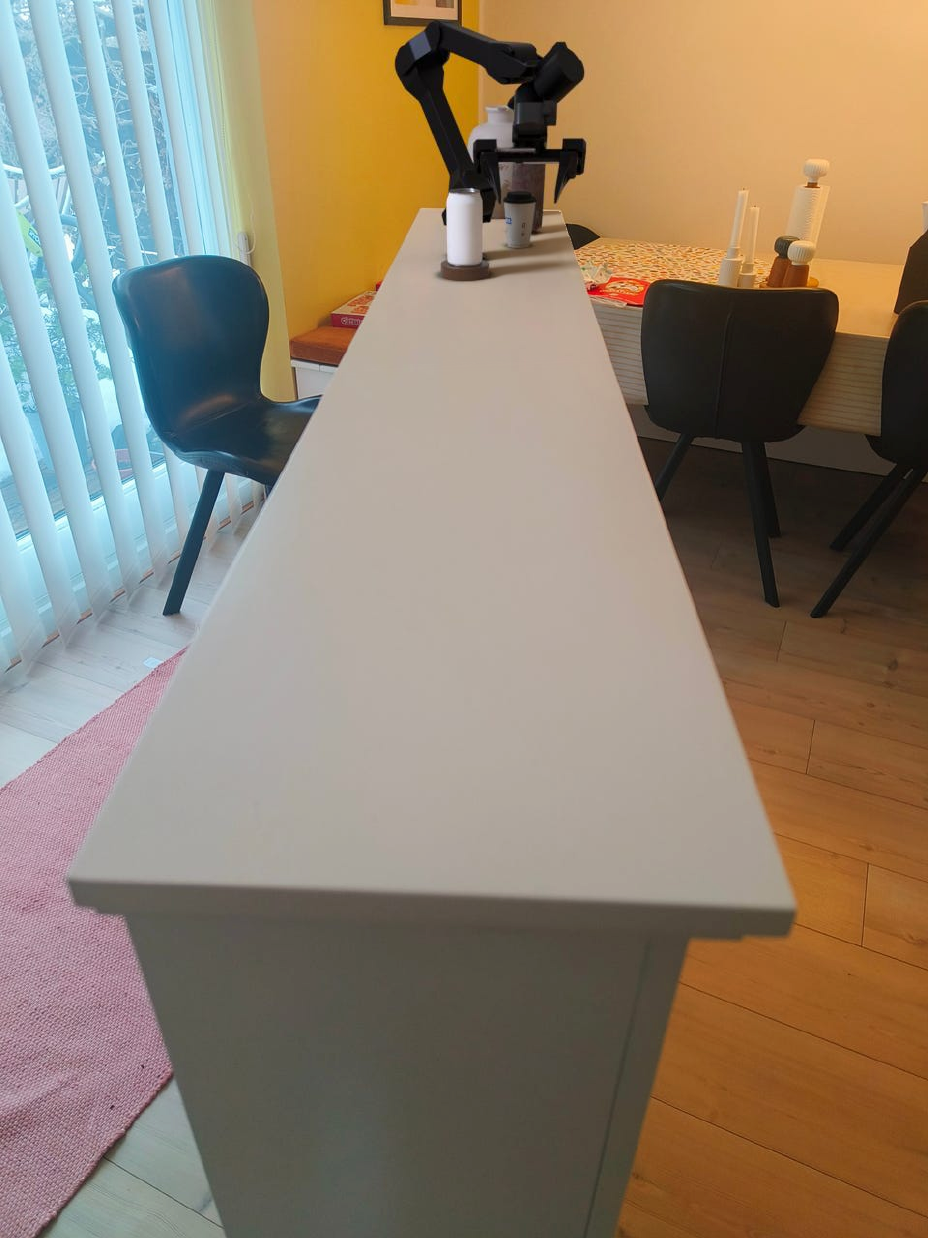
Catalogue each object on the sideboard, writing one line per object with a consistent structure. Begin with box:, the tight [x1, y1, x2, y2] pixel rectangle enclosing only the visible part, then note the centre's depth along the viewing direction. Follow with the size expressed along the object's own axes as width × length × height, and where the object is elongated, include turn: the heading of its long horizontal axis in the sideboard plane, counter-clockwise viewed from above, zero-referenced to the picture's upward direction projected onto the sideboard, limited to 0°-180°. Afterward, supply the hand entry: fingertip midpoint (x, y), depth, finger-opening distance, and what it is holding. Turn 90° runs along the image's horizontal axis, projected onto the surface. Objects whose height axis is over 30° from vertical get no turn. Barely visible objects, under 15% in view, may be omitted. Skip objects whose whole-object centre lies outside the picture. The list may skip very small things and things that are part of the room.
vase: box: [467, 105, 514, 219], centre depth 195 cm, size 16×16×23 cm
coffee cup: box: [503, 191, 537, 249], centre depth 170 cm, size 7×7×10 cm
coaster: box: [440, 259, 490, 282], centre depth 152 cm, size 9×9×2 cm
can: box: [445, 188, 484, 267], centre depth 148 cm, size 6×6×12 cm
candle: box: [511, 132, 549, 233], centre depth 179 cm, size 8×7×20 cm
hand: (527, 201), depth 136 cm, fingers open, 9 cm apart
